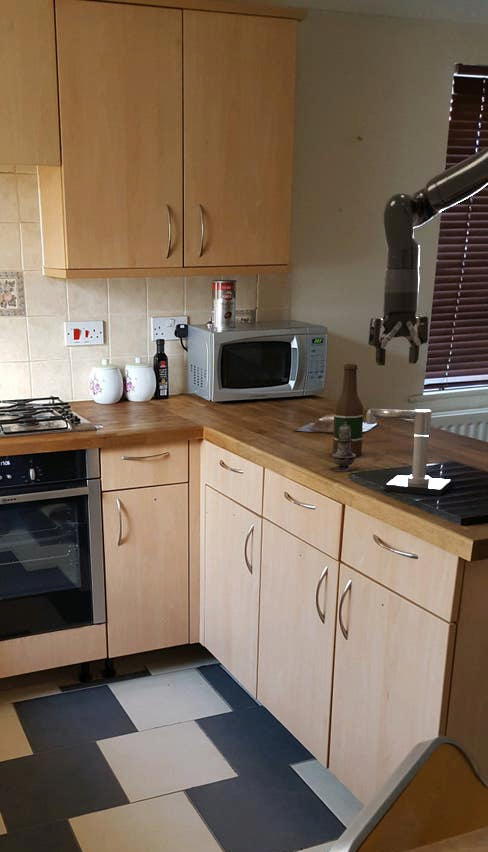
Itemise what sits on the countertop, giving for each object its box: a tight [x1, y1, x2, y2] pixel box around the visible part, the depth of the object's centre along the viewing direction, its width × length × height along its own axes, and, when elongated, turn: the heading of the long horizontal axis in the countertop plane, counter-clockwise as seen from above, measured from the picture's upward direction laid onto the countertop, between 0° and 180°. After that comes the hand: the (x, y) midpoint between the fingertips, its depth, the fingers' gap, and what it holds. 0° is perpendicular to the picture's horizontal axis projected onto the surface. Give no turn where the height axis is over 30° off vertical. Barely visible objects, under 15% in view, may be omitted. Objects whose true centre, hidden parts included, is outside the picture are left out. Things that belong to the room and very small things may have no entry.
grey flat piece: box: [296, 413, 378, 434], centre depth 278 cm, size 21×20×4 cm
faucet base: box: [385, 434, 451, 497], centre depth 196 cm, size 12×10×12 cm
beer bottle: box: [332, 363, 364, 458], centre depth 233 cm, size 8×8×24 cm
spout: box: [365, 408, 433, 436], centre depth 195 cm, size 14×4×5 cm, turn 61°
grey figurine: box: [331, 421, 357, 472], centre depth 217 cm, size 6×6×12 cm
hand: (396, 364), depth 201 cm, fingers open, 8 cm apart
